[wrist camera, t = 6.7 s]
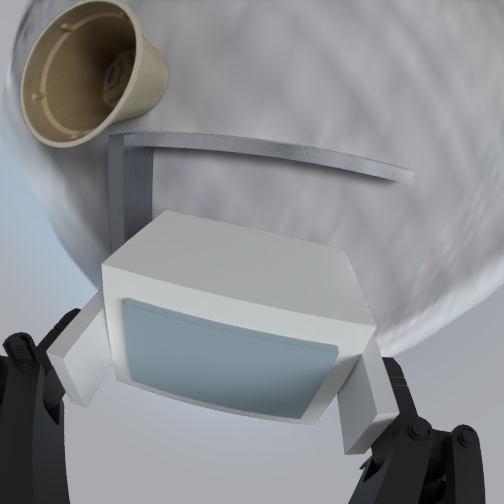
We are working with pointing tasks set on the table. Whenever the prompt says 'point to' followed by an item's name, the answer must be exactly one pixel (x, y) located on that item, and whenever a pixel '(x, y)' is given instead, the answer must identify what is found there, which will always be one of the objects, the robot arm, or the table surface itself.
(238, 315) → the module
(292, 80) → the table surface
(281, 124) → the table surface
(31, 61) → the flower pot
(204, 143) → the rail
